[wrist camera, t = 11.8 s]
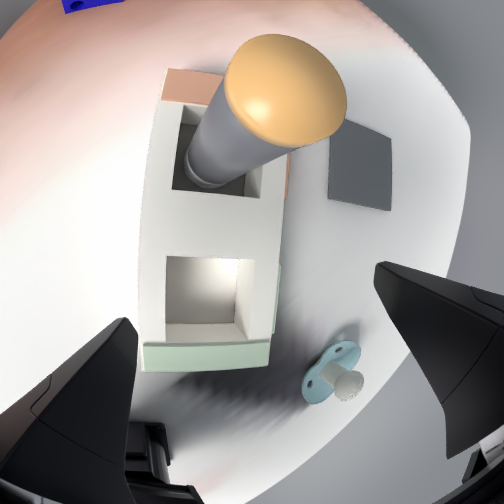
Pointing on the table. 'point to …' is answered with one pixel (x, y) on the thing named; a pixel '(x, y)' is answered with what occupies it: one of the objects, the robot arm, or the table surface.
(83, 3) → the cable clip
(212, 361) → the socket panel
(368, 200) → the mat
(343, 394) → the pacifier
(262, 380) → the table surface
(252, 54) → the plug
